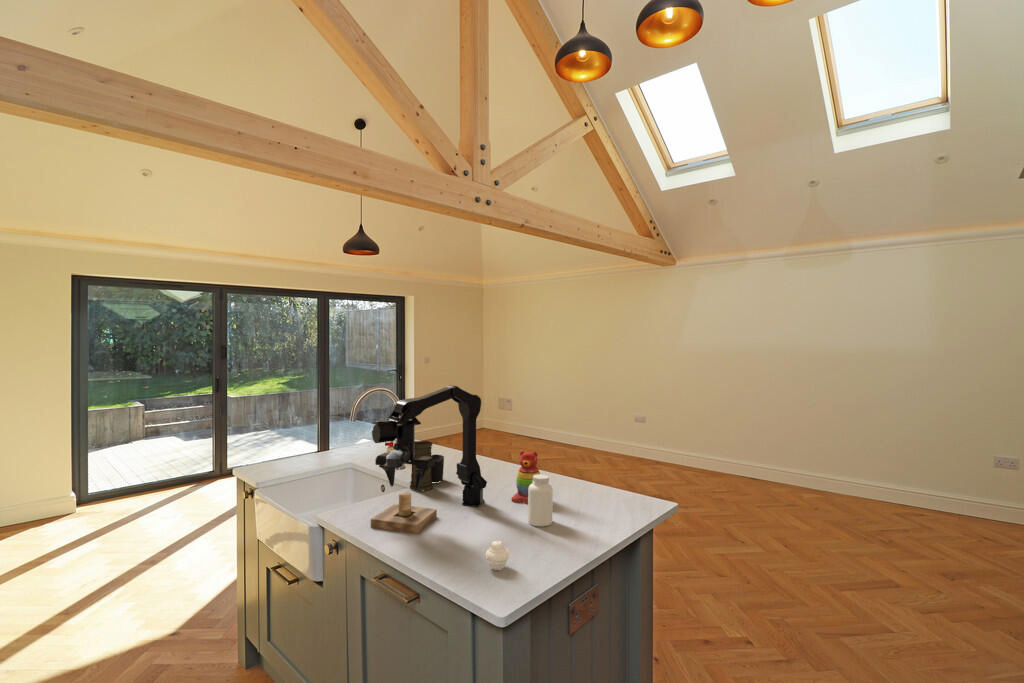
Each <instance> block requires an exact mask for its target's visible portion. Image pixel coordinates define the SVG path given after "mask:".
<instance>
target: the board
mask: <svg viewBox="0 0 1024 683" xmlns="http://www.w3.org/2000/svg"><path fill="white" fill-rule="evenodd" d="M398 508H399V504H396V503H393V504H392V505H390V506H388V507H387V508H385V509H384V510H383V511H380V512H379V513H377V514H376V515H374V516H372V517H371V518H370V527H371V528H376V529H382V528H383V529H384V530H389V531H391V530H392V531H397V532H405V533H412V534H418V533H419V532H420V531H421V530H423V529H424V528H425V527H427V525H429V524H430V523H431V522H432V521H433V520H434V519H436V518H437V512H438V511H437V509H436V508H429V507H420V506H413V505H411V516H410V517H409V518H405V517H398Z"/></svg>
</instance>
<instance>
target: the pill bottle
mask: <svg viewBox="0 0 1024 683" xmlns="http://www.w3.org/2000/svg"><path fill="white" fill-rule="evenodd" d="M532 482H533V483H532V484H531V485H530V486H529V488H528V503H527V521H528V523H529V525H531V526H533V527H534V526H535V527H548V526H550V525H552V523H553V502H554V500H553V499H554V498H553V497H554V496H553V494H554V493H553V492H554V490H553V487H552V485H551V484H549V483H550V476H549V475H547V474H543V473H542V474H541V473H540V474H537V475H534V476H533V481H532Z"/></svg>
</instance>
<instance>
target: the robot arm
mask: <svg viewBox="0 0 1024 683" xmlns="http://www.w3.org/2000/svg"><path fill="white" fill-rule="evenodd" d="M449 400H452V401H453V402H455V403H457V406H458V411H459V413H460V416H461V419H462V458H461V461H460V462H456V472H455V475H457V478H458V479H459V481H460V483H461V485H463V490H462V503H461V505H462V506H469V507H477V508H478V507H480V506H481V505H482V504H483V503H484V502H485V499H484V489H486V487H487V484H488V481H487V480H486V479H485V478H484V477H483V476H482V473H481V466H480V464H479V462H478V459H477V418H478V416H479V414H480V412H481V407H482V398H481V397H480V396H479V395H477V394H473V393H470V392H468V391H466V390H464V389H462V388H460V387H459V386H457V385H452V384H450V385H447V386H445V387H443V388H441V389H438V390H434V391H433V392H429V393H427V394H425V395H422V396H418V397H411V398H403V399H399V400H397V401H396V402H395V405H394V407H393V410H392V412H391V413H390V414H389V416H388V417H387V419H386V420H375V425H373V427H372V430H371V436H372V437H371V438H372V440H373V442H374V444H380V443H387V442H388V443H389V442H390V443H391V442H395V443H393V449H392V450H391V451H389V452H383V453H381V454H379V455H377V456H376V458H375V463H374V464H375V465H376V466H378V468H380V469H382V470H384V472H385V474H386V477H387V480H388V483H389V486H390V487H394V485H395V477H396V473H395V472H396V469H400V468H402V467H403V465H404V464H405V465H411V466H412V465H416V467H417V468H418V469H416V470H415V471H416V474H417V475H416V489H419V487H420V484H421V482H422V480H423V477H424V475H425V473H426V471H427V470H428V469H430V468H431V467H433V466H435V460H434V458H433V457H427V456H423V457H421V458H419V459H414V458H415V457H416V454H414V445H416V442H417V440H415V434H416V433H415V428H416V426H417V425H418V426H419V425H421V424H422V422H421V421H420V420H418V418H417V417H418V416H420V415H421V414H422V413H423V412H424V411H425V410H427V409H430V408H432V407H434V406H436V405H439V404H441V403H443V402H447V401H449Z"/></svg>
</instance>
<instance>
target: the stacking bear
mask: <svg viewBox="0 0 1024 683" xmlns="http://www.w3.org/2000/svg"><path fill="white" fill-rule="evenodd" d="M538 459H539V458H538V453H537V451H535V452H532V451H526V452H525V451H521V452H520V457H519V464H520V467H519V469H518V471H517V475H516V479H515V484H516V485H515V486H516V489H517V492H516V493H515V494H514V495H513V496H512V497H511V499H510V500H511V502H513V503H516V502H525V503H524V504H528V488H529V486H530V485H531V484H532V483H533V482H532V481H533V476H534V475H537V474H541V473H540V470H539V468H538V466H537V465H538V461H539V460H538Z"/></svg>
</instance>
